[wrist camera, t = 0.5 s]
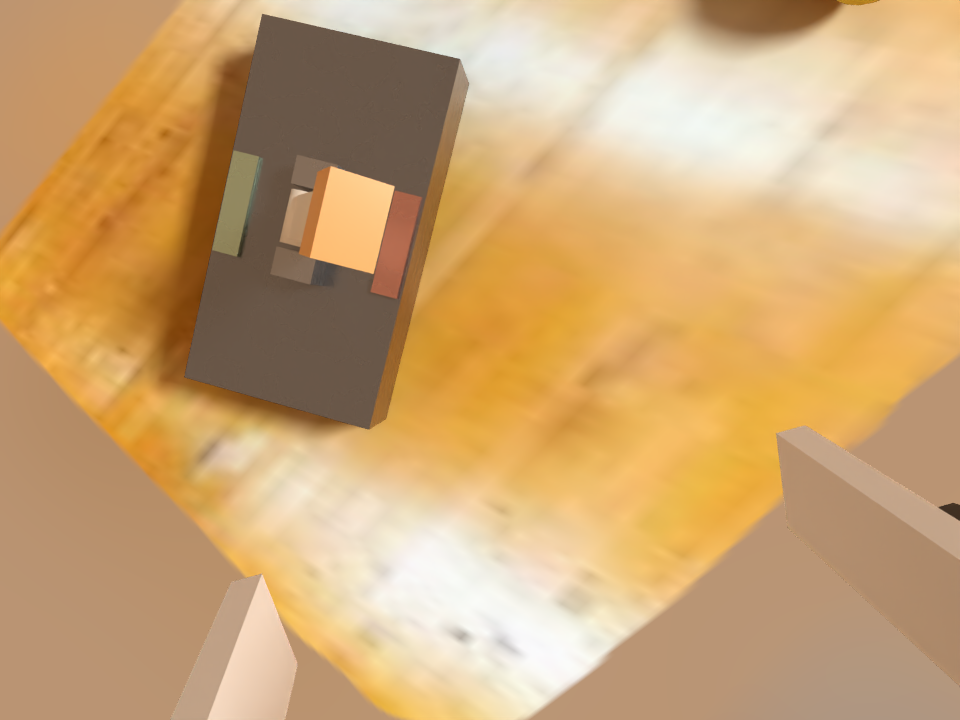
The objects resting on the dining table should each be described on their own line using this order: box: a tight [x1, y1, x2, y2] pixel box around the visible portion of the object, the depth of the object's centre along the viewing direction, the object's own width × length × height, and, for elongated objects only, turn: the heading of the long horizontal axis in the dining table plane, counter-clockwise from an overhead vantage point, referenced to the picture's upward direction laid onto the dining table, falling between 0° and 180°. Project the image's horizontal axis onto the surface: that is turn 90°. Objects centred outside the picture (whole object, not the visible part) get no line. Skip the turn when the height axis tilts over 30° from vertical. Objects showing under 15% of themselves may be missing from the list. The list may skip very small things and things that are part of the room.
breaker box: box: [184, 14, 469, 429], centre depth 39 cm, size 22×12×6 cm, turn 165°
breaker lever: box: [280, 166, 395, 274], centre depth 32 cm, size 4×3×14 cm
